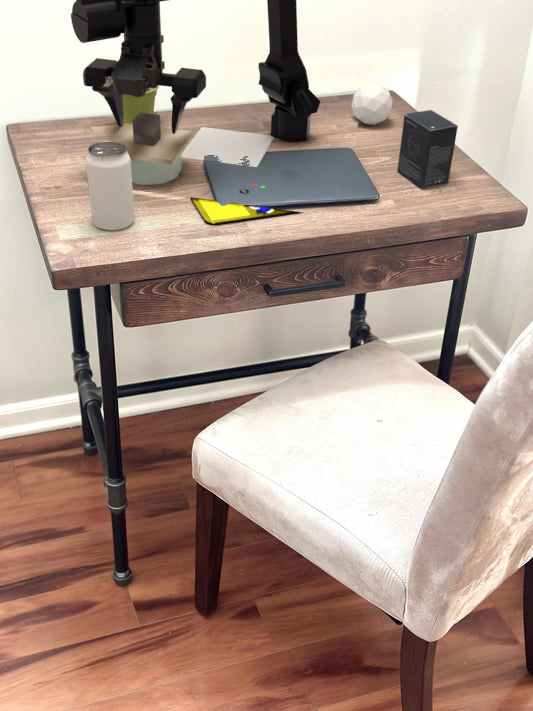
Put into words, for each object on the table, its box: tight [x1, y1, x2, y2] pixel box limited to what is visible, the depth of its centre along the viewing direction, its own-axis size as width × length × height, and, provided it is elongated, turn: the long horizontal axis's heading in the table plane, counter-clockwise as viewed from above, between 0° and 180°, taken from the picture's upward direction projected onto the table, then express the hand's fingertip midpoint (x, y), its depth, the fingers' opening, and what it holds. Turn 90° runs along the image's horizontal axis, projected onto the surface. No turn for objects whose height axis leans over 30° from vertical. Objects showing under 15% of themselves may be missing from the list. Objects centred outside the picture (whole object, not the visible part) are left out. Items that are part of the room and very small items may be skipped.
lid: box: [108, 113, 194, 165], centre depth 142 cm, size 12×12×5 cm
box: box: [397, 109, 459, 189], centre depth 147 cm, size 8×6×11 cm
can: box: [85, 140, 135, 232], centre depth 130 cm, size 6×6×12 cm
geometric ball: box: [350, 82, 394, 126], centre depth 167 cm, size 8×8×8 cm
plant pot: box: [118, 85, 160, 130], centre depth 160 cm, size 9×9×9 cm
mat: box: [181, 126, 275, 168], centre depth 156 cm, size 14×14×1 cm
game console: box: [190, 184, 304, 227], centre depth 140 cm, size 18×11×2 cm, turn 112°
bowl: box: [130, 151, 183, 186], centre depth 146 cm, size 10×10×6 cm
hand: (147, 129), depth 142 cm, fingers open, 9 cm apart
